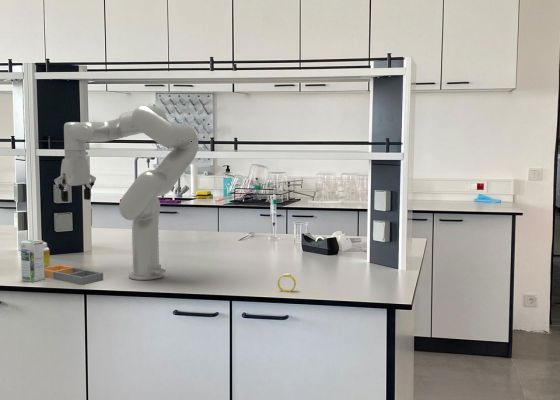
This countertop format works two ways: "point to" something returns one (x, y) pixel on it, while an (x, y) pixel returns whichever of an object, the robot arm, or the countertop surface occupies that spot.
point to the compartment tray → (72, 274)
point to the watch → (286, 276)
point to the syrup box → (32, 260)
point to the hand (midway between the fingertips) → (76, 200)
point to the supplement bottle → (46, 255)
